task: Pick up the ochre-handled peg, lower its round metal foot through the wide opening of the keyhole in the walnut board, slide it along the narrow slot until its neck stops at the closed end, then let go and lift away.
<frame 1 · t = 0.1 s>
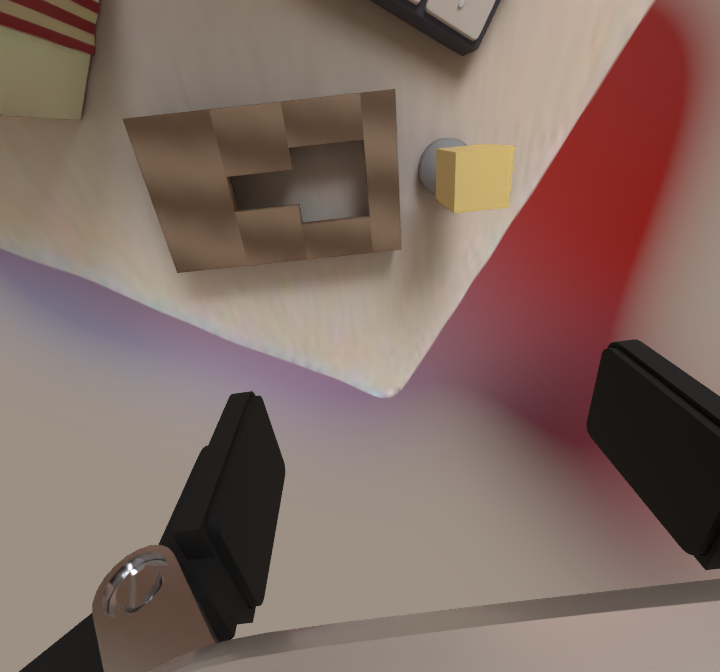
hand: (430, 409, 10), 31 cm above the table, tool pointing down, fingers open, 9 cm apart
peg: (443, 167, 36), on the table
keyhole board: (281, 184, 36), on the table
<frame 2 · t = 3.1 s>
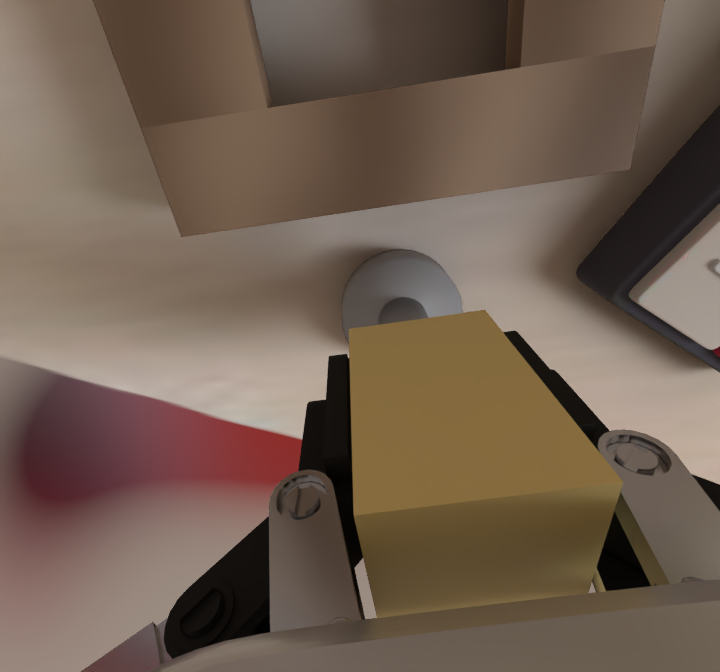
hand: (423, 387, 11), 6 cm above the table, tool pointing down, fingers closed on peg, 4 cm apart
peg: (397, 304, 16), on the table, touching gripper
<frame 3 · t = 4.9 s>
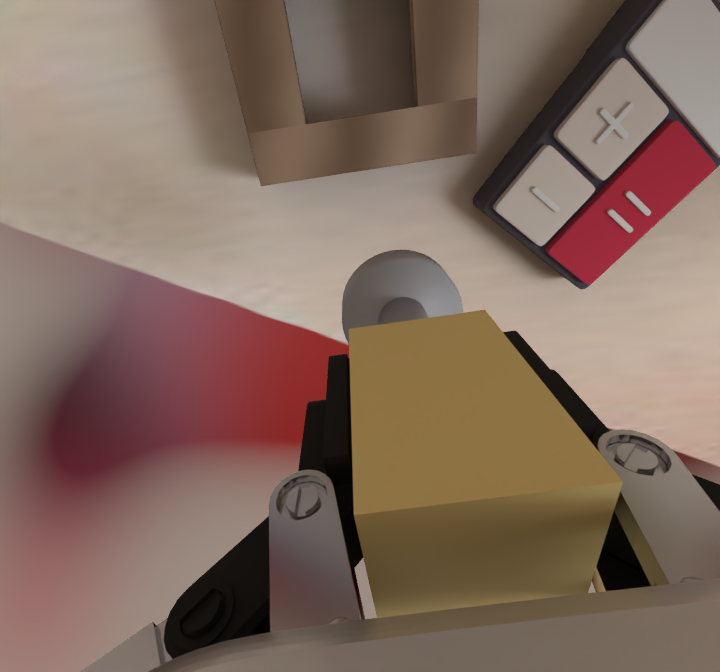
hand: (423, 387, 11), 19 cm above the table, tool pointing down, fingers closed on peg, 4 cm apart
peg: (397, 304, 16), point 13 cm above the table, touching gripper
calculator: (593, 154, 26), on the table
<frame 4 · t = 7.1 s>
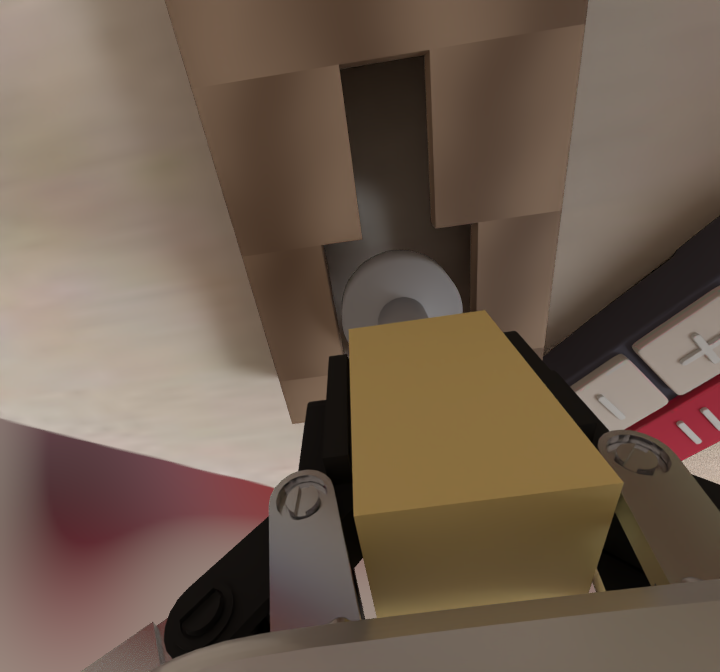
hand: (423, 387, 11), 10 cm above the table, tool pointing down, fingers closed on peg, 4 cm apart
peg: (397, 304, 16), point 4 cm above the table, touching gripper
calculator: (661, 341, 23), on the table
keyhole board: (385, 176, 17), on the table
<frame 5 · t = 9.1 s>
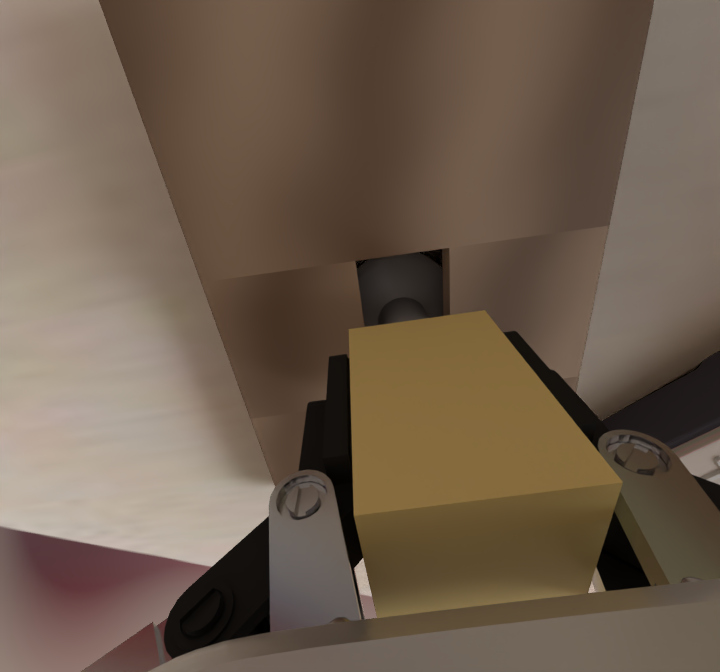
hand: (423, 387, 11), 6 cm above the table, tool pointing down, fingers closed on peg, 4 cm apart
peg: (397, 304, 16), on the table, touching gripper
calculator: (670, 439, 23), on the table
keyhole board: (396, 313, 17), on the table
when the fingers open (6 cm above the table, at t = 10.8 s): peg stays where it is, on the table.
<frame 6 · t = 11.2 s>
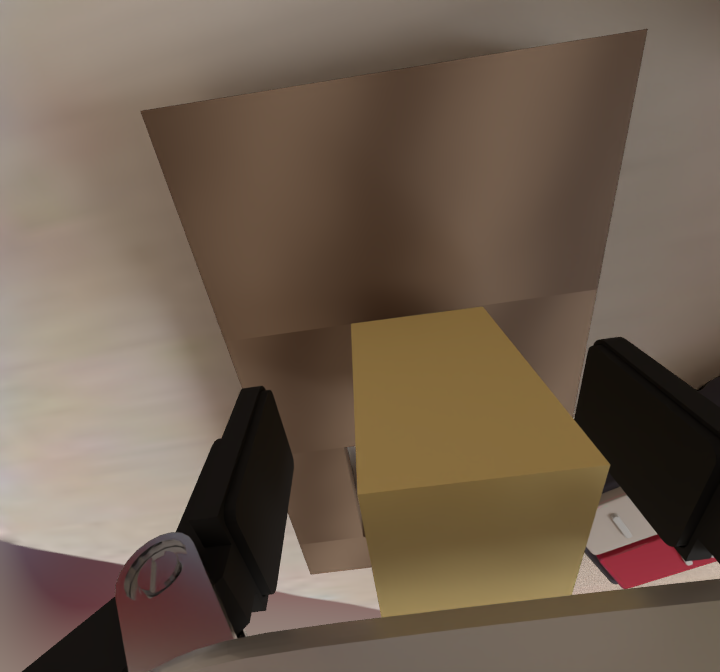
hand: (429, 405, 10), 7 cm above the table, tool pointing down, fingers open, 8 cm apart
peg: (397, 302, 17), on the table
calculator: (666, 456, 23), on the table
keyhole board: (401, 352, 18), on the table
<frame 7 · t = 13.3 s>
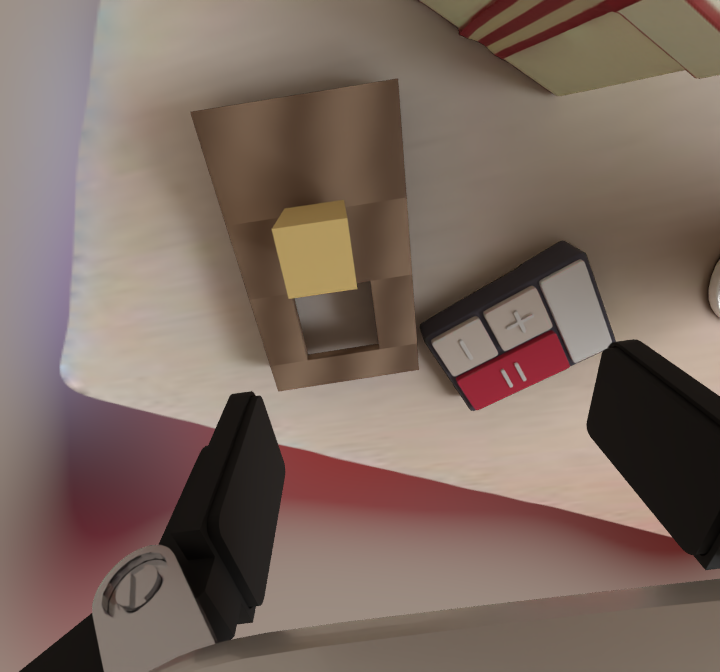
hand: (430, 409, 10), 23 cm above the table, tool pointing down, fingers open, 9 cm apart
peg: (321, 218, 30), on the table
calculator: (506, 324, 37), on the table
keyhole board: (327, 250, 31), on the table
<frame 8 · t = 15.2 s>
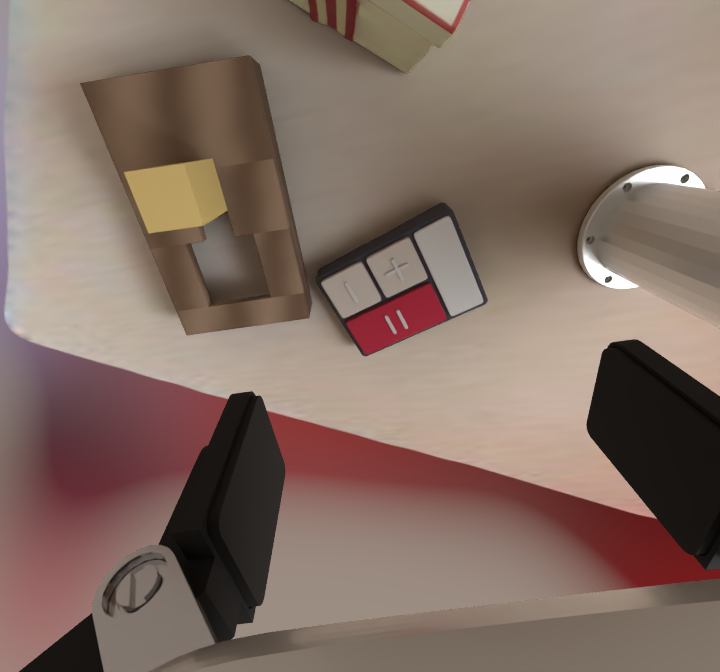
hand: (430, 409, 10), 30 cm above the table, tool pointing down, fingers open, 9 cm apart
peg: (216, 181, 35), on the table
calculator: (399, 279, 41), on the table
keyhole board: (225, 210, 36), on the table
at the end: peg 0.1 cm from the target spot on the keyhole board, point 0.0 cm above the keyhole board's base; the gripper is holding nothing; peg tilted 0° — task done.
